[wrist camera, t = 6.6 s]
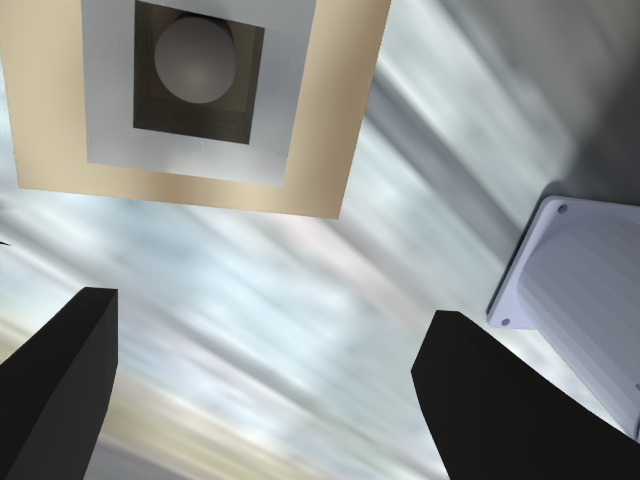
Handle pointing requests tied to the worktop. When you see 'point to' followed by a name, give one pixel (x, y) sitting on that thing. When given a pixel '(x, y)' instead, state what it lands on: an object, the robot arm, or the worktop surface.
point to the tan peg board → (190, 102)
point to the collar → (188, 119)
